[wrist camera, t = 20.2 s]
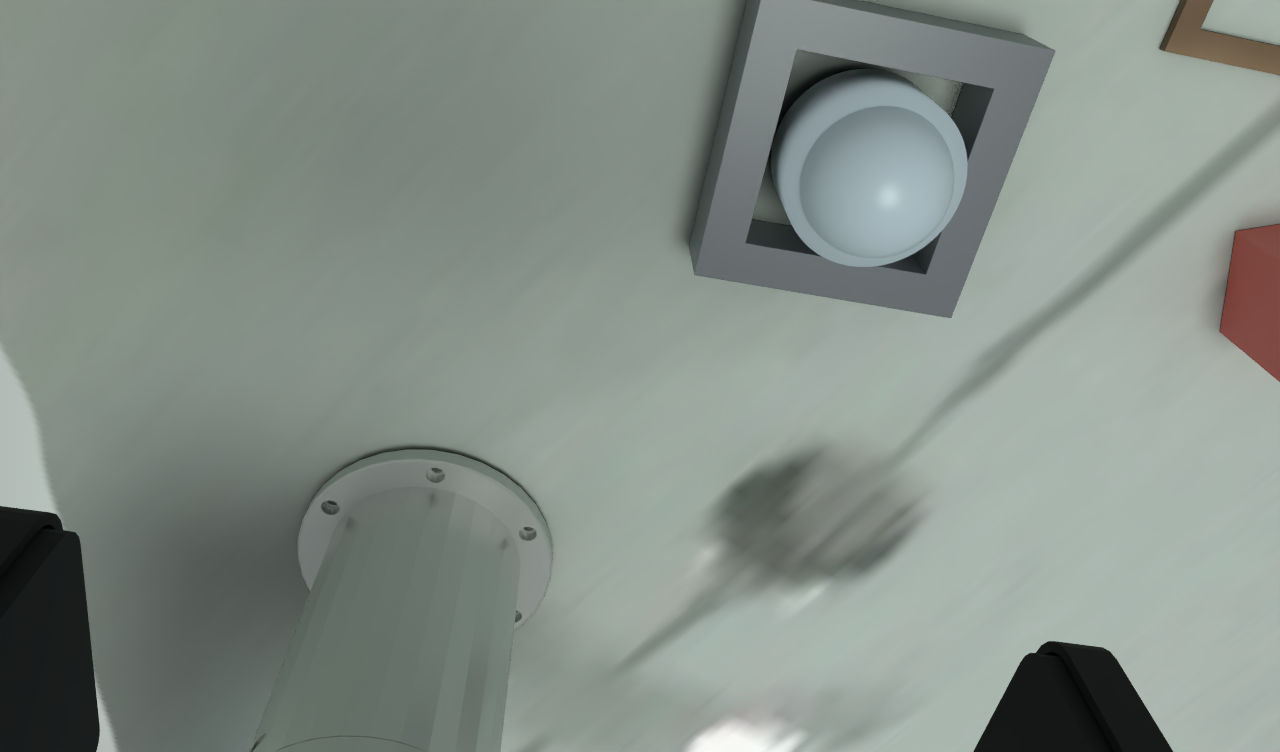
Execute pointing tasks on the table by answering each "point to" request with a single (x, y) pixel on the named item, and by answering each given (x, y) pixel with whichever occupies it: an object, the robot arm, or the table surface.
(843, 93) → the dome
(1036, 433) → the table surface
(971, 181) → the grey hollow frame
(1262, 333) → the red die
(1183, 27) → the game track
